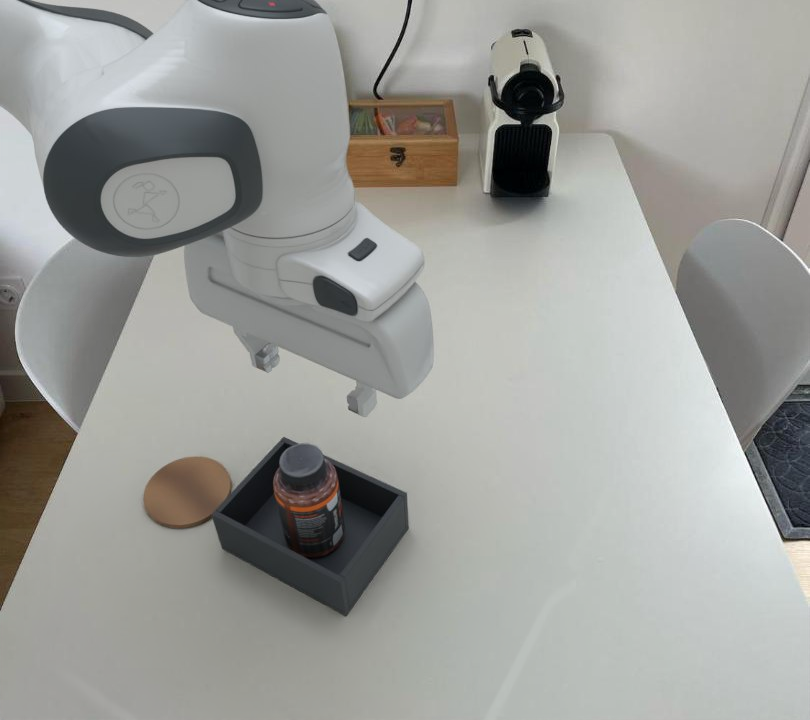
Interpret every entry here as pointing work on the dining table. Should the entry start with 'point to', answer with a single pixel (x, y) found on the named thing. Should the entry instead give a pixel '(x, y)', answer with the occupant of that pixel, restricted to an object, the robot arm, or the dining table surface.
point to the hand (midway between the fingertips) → (313, 386)
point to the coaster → (186, 492)
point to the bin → (327, 575)
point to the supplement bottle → (309, 501)
